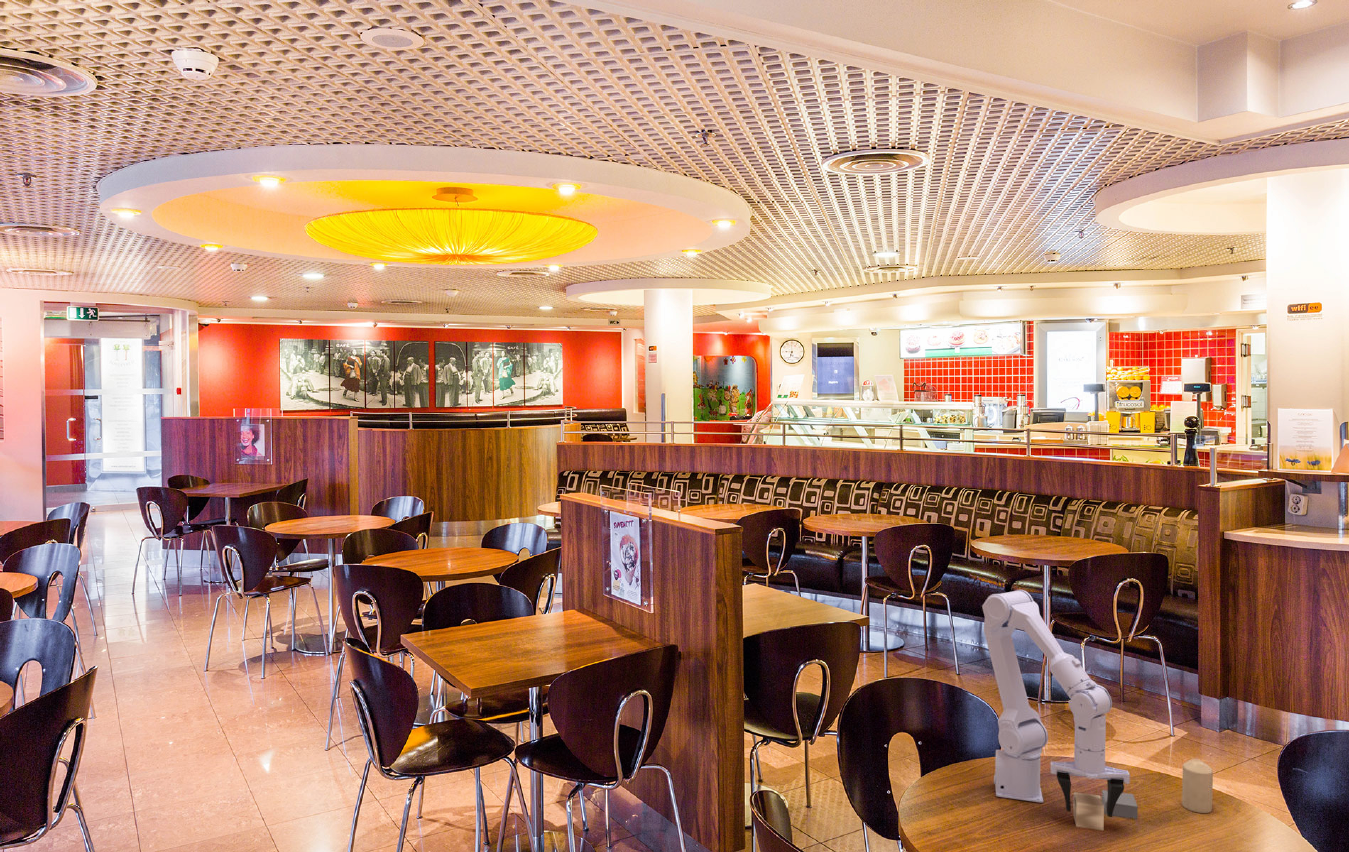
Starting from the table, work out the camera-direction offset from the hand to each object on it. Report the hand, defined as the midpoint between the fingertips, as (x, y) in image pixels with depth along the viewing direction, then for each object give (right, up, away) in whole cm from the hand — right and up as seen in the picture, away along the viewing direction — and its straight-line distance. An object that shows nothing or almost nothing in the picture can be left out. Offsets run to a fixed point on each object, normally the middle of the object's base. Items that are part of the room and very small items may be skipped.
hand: (1088, 812), depth 178 cm
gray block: (+9, -3, +6) cm, 11 cm away
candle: (+27, -2, +7) cm, 28 cm away
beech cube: (0, -2, 0) cm, 2 cm away
